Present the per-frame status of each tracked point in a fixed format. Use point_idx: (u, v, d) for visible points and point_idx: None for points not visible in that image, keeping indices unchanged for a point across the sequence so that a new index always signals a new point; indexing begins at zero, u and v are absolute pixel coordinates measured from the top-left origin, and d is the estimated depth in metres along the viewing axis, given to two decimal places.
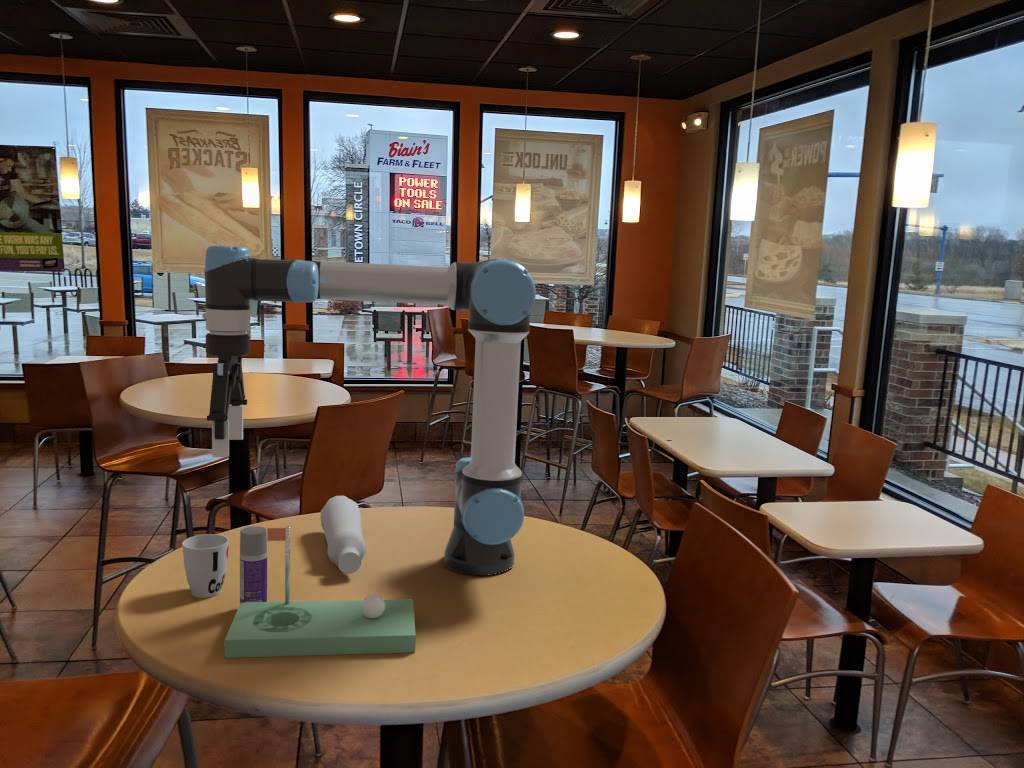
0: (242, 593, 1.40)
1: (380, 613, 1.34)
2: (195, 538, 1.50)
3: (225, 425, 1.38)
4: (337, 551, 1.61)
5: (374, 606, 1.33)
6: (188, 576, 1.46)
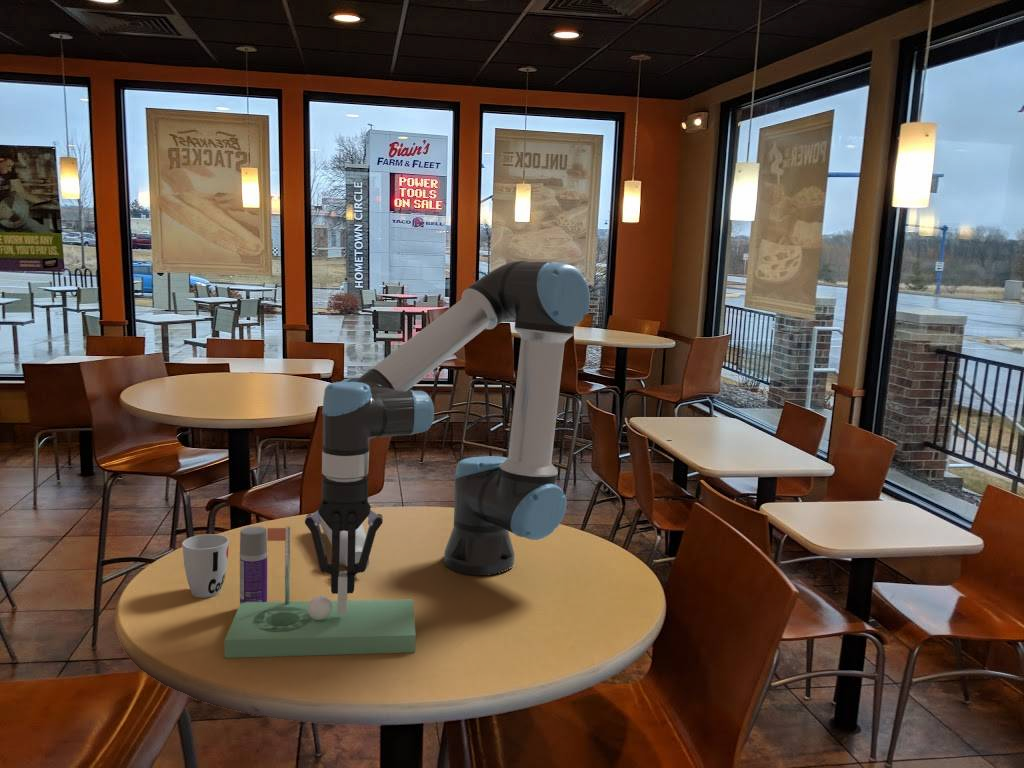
0: (242, 593, 1.40)
1: (313, 616, 1.32)
2: (196, 538, 1.50)
3: (338, 580, 1.32)
4: (343, 551, 1.62)
5: (323, 614, 1.32)
6: (188, 576, 1.46)
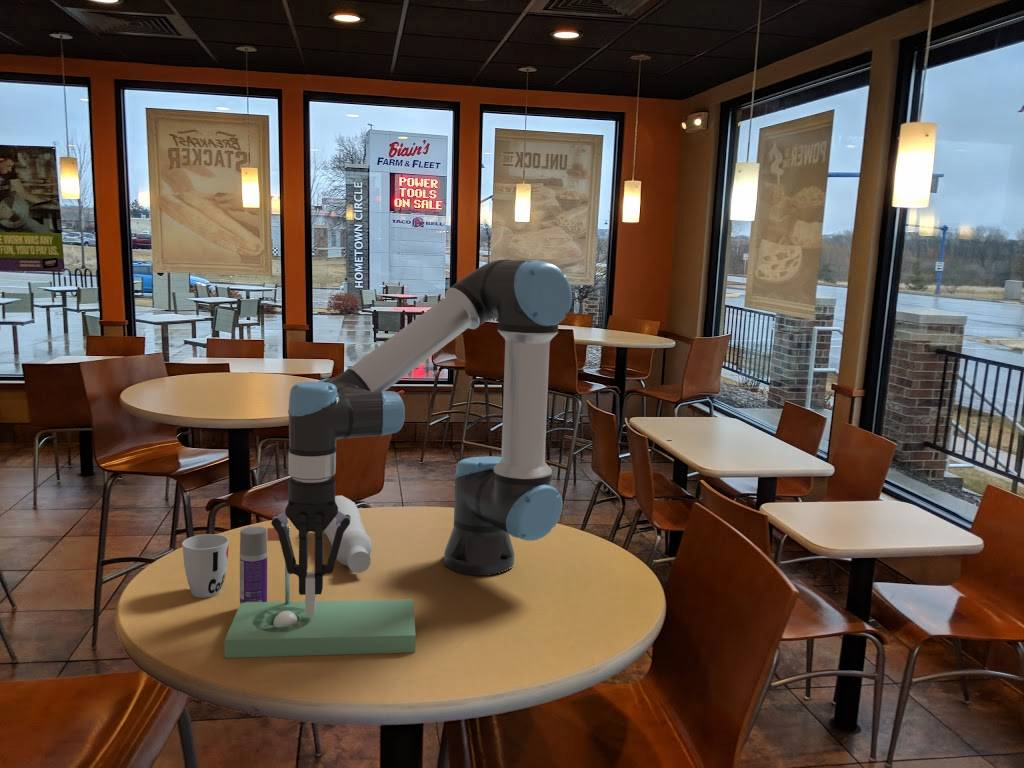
0: (242, 593, 1.40)
1: (292, 614, 1.34)
2: (195, 538, 1.50)
3: (305, 582, 1.32)
4: (345, 551, 1.62)
5: (282, 618, 1.32)
6: (188, 576, 1.46)
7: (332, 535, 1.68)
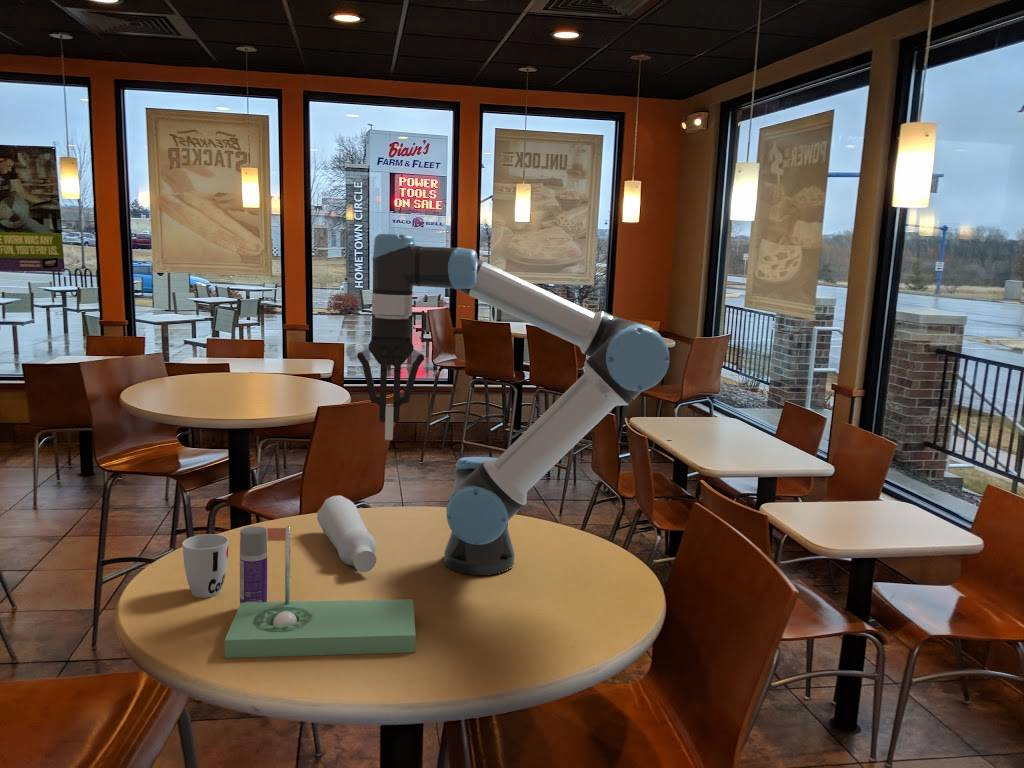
0: (242, 593, 1.40)
1: (291, 614, 1.33)
2: (195, 538, 1.50)
3: (385, 410, 1.51)
4: (349, 550, 1.62)
5: (281, 619, 1.32)
6: (188, 576, 1.46)
7: (335, 535, 1.68)
